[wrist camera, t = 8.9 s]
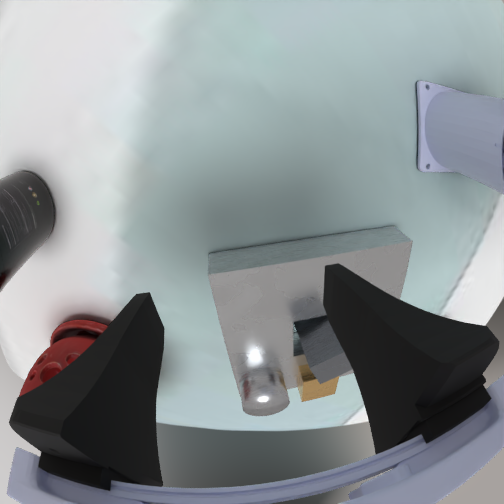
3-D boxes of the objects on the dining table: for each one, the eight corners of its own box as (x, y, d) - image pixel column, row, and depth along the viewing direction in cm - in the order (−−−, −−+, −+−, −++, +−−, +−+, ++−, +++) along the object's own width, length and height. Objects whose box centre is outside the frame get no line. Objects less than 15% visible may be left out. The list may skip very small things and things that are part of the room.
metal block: (318, 294, 24) (346, 350, 18) (327, 314, 26) (353, 368, 20) (289, 309, 25) (309, 368, 18) (300, 327, 26) (320, 384, 20)
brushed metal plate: (393, 225, 22) (434, 259, 16) (369, 347, 29) (388, 384, 24) (208, 253, 21) (207, 302, 16) (238, 375, 29) (243, 420, 23)
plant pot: (107, 391, 29) (92, 468, 18) (36, 325, 23) (-4, 407, 12) (184, 371, 28) (182, 470, 17) (105, 287, 21) (57, 401, 11)
